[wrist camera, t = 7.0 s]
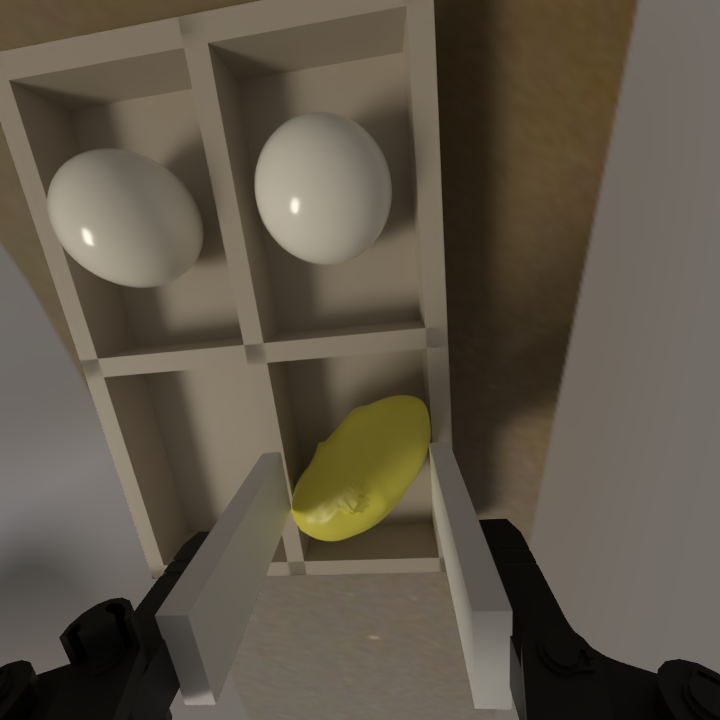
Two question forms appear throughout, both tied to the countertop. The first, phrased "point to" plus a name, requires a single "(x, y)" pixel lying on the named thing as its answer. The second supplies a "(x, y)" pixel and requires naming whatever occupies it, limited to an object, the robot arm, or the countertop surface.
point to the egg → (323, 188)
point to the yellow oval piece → (362, 468)
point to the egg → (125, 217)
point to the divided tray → (249, 259)
